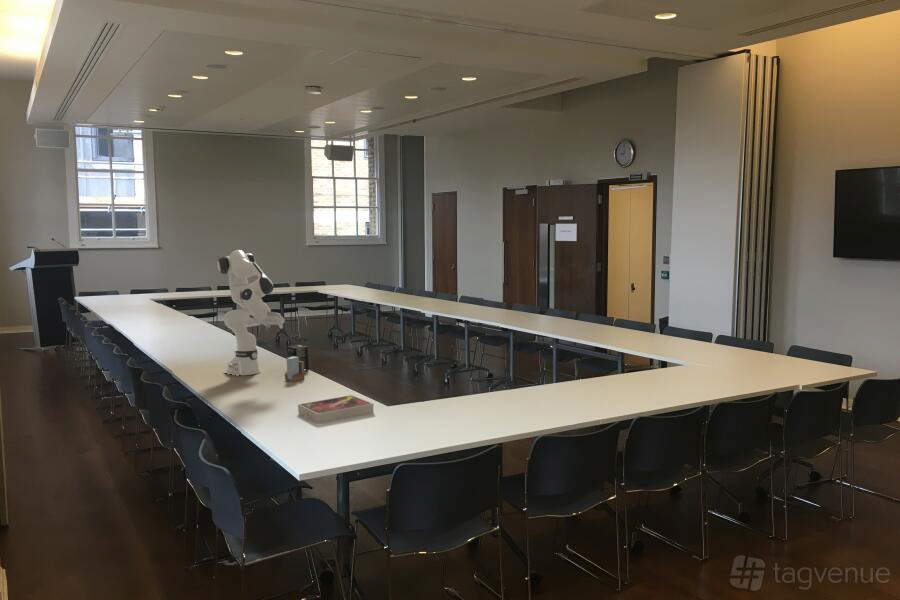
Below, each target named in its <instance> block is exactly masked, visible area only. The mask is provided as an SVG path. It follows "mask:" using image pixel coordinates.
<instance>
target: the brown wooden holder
mask: <svg viewBox="0 0 900 600" xmlns="http://www.w3.org/2000/svg"><path fill="white" fill-rule="evenodd" d="M303 378H304V379H305V371H304V361H299V374H296V375H292V380H291V379H288V377H287V373H286V374H285V375H284V381H285V380H287V381H286V382H292V381H295V382H298V381H301V380H304V379H303ZM300 379H301V380H300ZM297 380H298V381H297Z"/></svg>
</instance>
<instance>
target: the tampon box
mask: <svg viewBox="0 0 900 600" xmlns="http://www.w3.org/2000/svg"><path fill="white" fill-rule="evenodd" d="M286 348H287V358H290V357H298V358H299V361H304V369H306V371H309V370H310V368H309V367H310V366H309V348H308V346H306V345H303V344H295V345H289V346H288V345H287V346H286Z"/></svg>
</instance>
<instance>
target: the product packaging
mask: <svg viewBox="0 0 900 600" xmlns="http://www.w3.org/2000/svg"><path fill="white" fill-rule="evenodd" d="M297 407H298V408H297V409H298V410H297V413H299V415H300V416H302V417H304V418H305V419H308V420H310V421H312V422H314V423H315V422H316V423H315V424H317V423H318V424H324V423H330V422H335V421H339V420H345V419H349V418H350V419H351V418H357V417H360V416H365V415H371V414H372V415H373V414H374V411H375V410H374V403H372V402H370V401H367V400H365V399H363V398H360V397H358V396H355V395H353V394H349V395H345V396H338V397H333V398H327V399H321V400H316V401H310V402H305V403H299V404H297Z"/></svg>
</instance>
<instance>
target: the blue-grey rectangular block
mask: <svg viewBox="0 0 900 600" xmlns="http://www.w3.org/2000/svg"><path fill="white" fill-rule="evenodd" d="M286 372H287V373H286V374H287V377H288V379H291V380H292V375H296V374H299V358H298V357H290V358H288V357H286Z"/></svg>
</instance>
